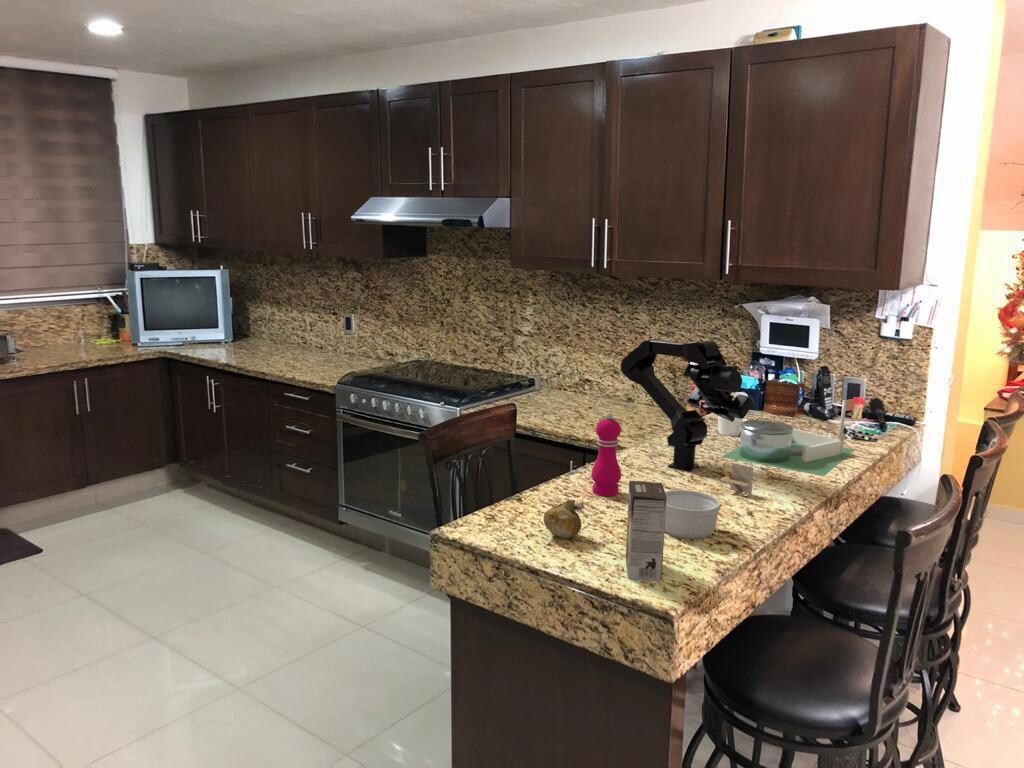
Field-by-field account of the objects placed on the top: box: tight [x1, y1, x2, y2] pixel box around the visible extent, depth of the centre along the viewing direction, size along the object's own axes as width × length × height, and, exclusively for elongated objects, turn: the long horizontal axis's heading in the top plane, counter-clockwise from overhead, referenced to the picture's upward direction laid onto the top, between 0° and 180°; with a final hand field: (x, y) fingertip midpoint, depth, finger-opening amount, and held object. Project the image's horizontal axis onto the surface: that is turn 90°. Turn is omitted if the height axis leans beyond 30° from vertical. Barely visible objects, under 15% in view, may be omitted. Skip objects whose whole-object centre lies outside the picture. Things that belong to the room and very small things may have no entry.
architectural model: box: [720, 462, 754, 497], centre depth 195 cm, size 3×7×7 cm, turn 48°
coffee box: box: [625, 480, 667, 582], centre depth 148 cm, size 9×6×16 cm
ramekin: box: [665, 489, 721, 540], centre depth 170 cm, size 13×13×7 cm
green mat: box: [721, 442, 856, 477], centre depth 233 cm, size 35×28×1 cm
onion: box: [543, 499, 585, 539], centre depth 165 cm, size 8×8×8 cm
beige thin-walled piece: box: [790, 398, 856, 462], centre depth 237 cm, size 22×20×16 cm
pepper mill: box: [590, 412, 622, 497], centre depth 192 cm, size 7×7×20 cm
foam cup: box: [717, 391, 749, 437], centre depth 254 cm, size 10×9×13 cm
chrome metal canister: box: [739, 419, 794, 463], centre depth 228 cm, size 14×14×9 cm
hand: (732, 420), depth 218 cm, fingers closed
